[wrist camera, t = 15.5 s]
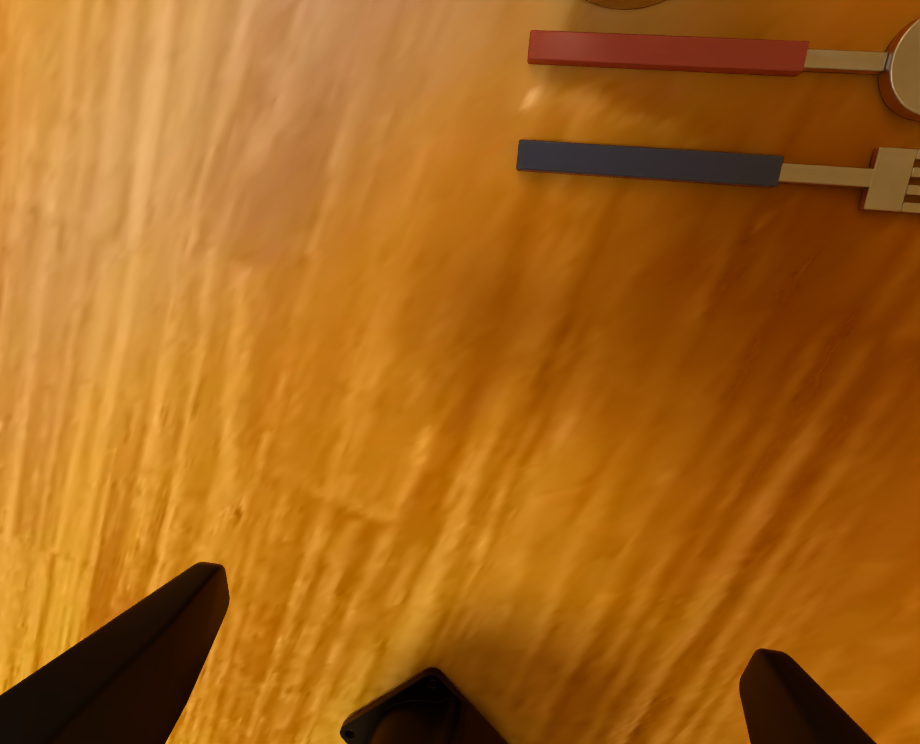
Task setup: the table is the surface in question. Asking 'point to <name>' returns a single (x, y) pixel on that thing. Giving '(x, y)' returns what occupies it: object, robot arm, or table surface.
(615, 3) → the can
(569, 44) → the spoon
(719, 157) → the fork
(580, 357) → the table surface
